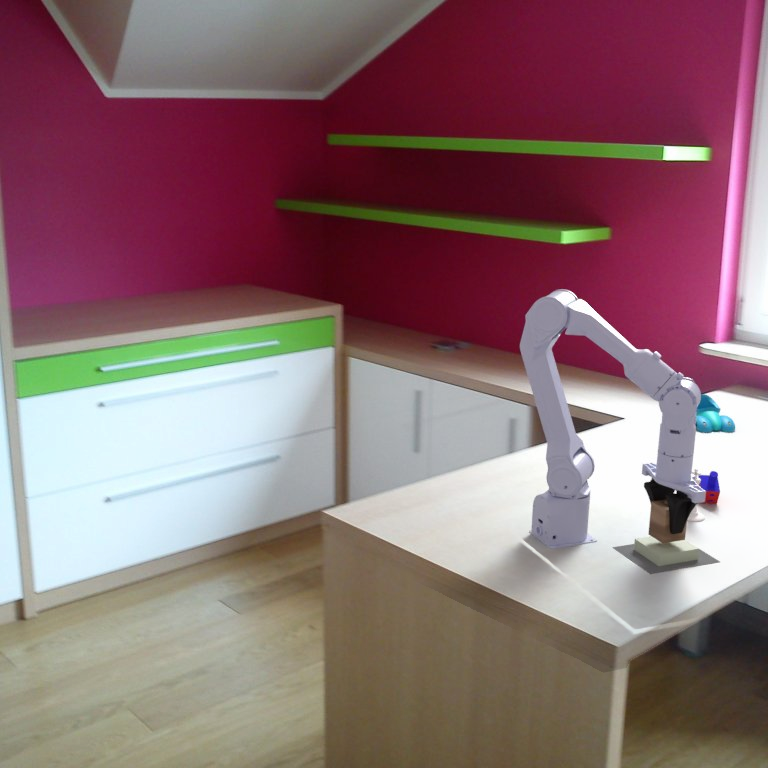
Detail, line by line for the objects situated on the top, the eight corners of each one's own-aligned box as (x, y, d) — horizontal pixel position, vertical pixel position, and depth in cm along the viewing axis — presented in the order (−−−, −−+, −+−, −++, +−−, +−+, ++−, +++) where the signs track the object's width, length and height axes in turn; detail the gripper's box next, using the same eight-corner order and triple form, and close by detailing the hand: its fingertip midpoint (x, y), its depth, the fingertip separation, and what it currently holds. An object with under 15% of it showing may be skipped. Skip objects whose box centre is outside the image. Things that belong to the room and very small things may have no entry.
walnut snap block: (662, 543, 165) (666, 507, 164) (648, 534, 169) (651, 498, 167) (684, 539, 167) (688, 503, 165) (670, 530, 171) (673, 495, 169)
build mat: (650, 576, 162) (650, 573, 161) (612, 549, 172) (612, 547, 171) (720, 564, 166) (720, 561, 166) (679, 539, 176) (679, 536, 176)
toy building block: (696, 508, 195) (703, 480, 190) (694, 492, 198) (701, 464, 193) (715, 509, 195) (722, 482, 189) (712, 493, 198) (720, 465, 192)
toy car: (710, 412, 256) (712, 387, 254) (740, 433, 238) (743, 407, 237) (669, 413, 255) (671, 388, 253) (697, 434, 237) (699, 407, 236)
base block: (658, 566, 164) (659, 555, 164) (633, 549, 171) (634, 538, 170) (698, 559, 167) (699, 548, 167) (672, 543, 173) (673, 532, 173)
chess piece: (683, 512, 189) (688, 462, 186) (709, 518, 186) (714, 468, 183) (673, 519, 185) (678, 469, 183) (698, 526, 182) (704, 475, 180)
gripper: (724, 463, 159) (715, 541, 162) (668, 436, 172) (661, 509, 176) (688, 468, 156) (680, 547, 160) (634, 440, 170) (628, 514, 173)
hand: (668, 527), depth 168 cm, fingers closed on walnut snap block, 4 cm apart
